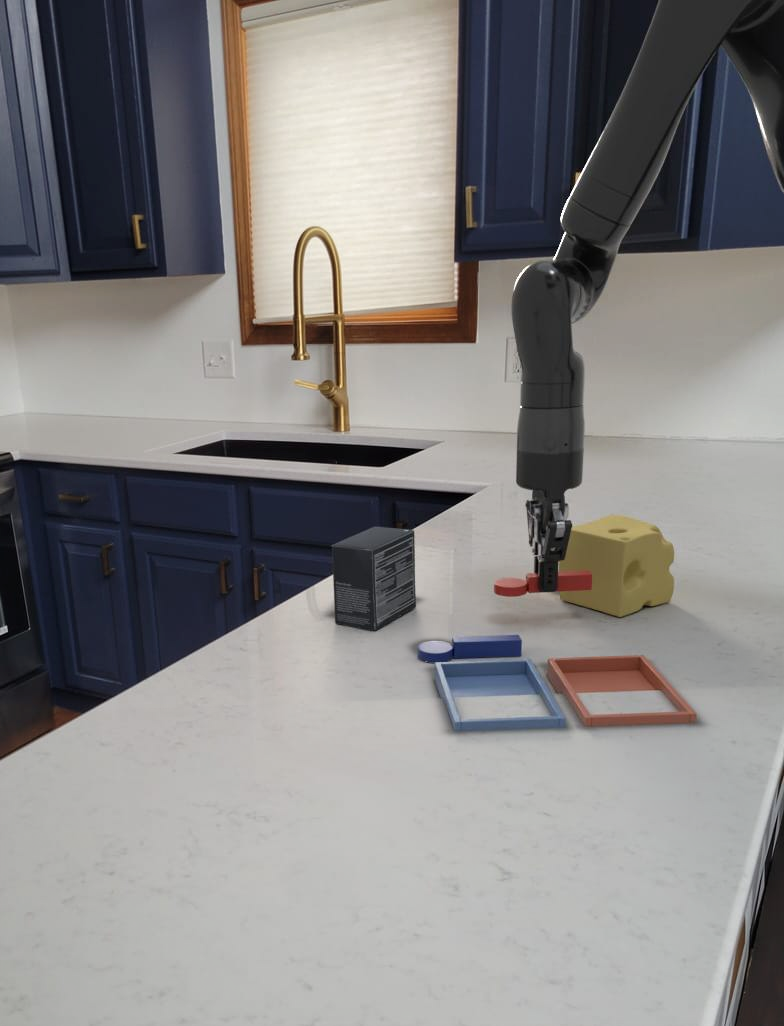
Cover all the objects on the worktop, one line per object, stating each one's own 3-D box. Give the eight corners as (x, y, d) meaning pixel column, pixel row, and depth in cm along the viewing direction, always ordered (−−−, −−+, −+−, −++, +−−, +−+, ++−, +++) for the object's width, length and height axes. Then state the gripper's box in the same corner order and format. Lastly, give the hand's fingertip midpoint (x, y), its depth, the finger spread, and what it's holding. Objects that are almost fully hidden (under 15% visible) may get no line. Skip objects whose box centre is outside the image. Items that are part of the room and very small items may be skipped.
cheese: (673, 602, 123) (680, 526, 120) (618, 620, 117) (624, 541, 114) (607, 584, 131) (612, 512, 128) (553, 600, 126) (557, 526, 122)
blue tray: (529, 676, 102) (530, 658, 102) (564, 737, 89) (565, 718, 88) (434, 679, 103) (434, 662, 102) (454, 741, 89) (454, 722, 88)
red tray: (642, 672, 102) (643, 654, 102) (694, 733, 88) (697, 713, 88) (546, 675, 102) (547, 658, 102) (584, 737, 89) (585, 717, 88)
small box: (375, 600, 129) (373, 524, 125) (417, 607, 125) (417, 529, 121) (331, 623, 121) (328, 542, 117) (375, 632, 117) (374, 549, 113)
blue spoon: (516, 647, 111) (516, 631, 110) (523, 660, 107) (524, 643, 106) (415, 650, 111) (415, 634, 110) (419, 663, 107) (419, 647, 106)
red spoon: (585, 583, 118) (586, 567, 117) (594, 592, 114) (595, 576, 114) (491, 587, 118) (491, 572, 118) (497, 597, 115) (497, 581, 114)
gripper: (599, 453, 104) (591, 604, 110) (567, 434, 117) (562, 571, 123) (530, 456, 104) (526, 607, 110) (506, 438, 117) (503, 574, 123)
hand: (545, 587), depth 116 cm, fingers closed on red spoon, 2 cm apart
